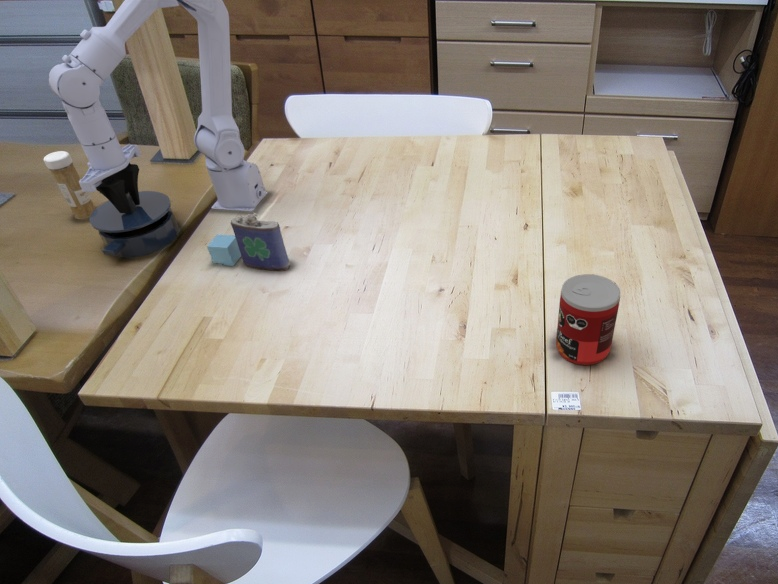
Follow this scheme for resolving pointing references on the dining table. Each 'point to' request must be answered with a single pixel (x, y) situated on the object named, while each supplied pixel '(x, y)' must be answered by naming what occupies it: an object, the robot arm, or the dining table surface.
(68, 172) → the sprinkles bottle
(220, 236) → the blue cube
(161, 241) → the pot
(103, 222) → the lid
